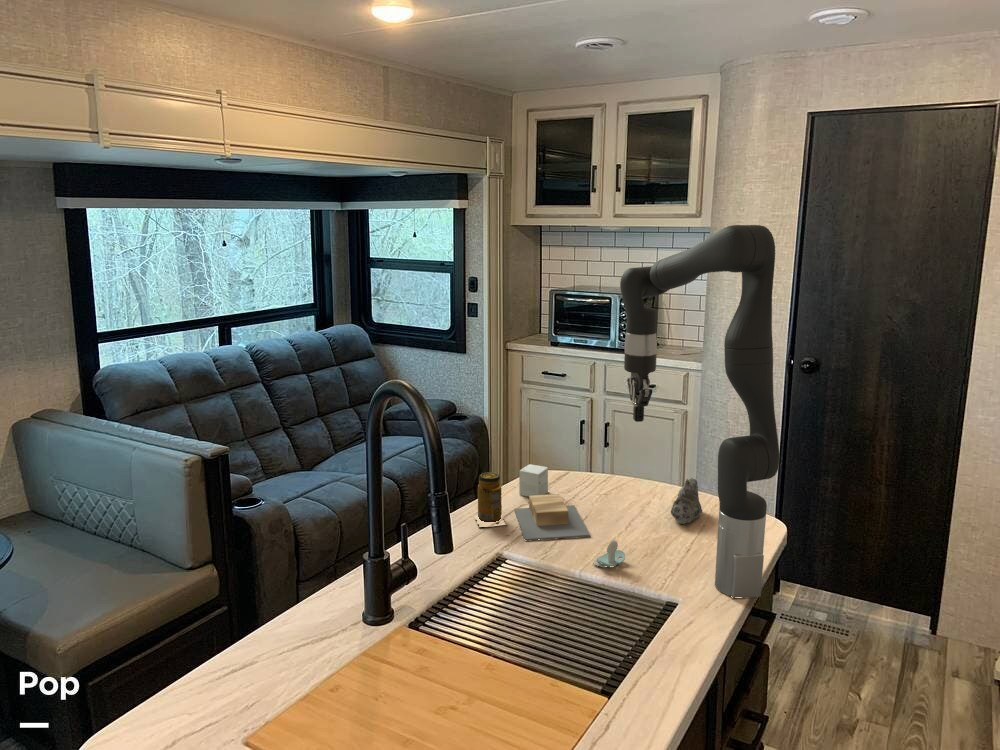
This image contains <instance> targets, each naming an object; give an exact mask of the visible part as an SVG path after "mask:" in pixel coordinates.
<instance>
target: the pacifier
mask: <svg viewBox="0 0 1000 750" xmlns="http://www.w3.org/2000/svg"><path fill="white" fill-rule="evenodd" d="M618 546H619V544H618V541H616V540H615V539H613V540H611V541H610V542H609V544H608V545H607V547H606V553H604V554H602V555H600V556H597V557H596V558H595V559H593V563H594V564H595V565H597V566H596V567H598V566H603V567H602V568H605V567H604V566H607V567H610V566H615V567H616V566H617V565H620V564H622V563H623V562H624V561H625V560H626V554H625V552H624V551H623V550H619V549H618V548H619V547H618ZM597 561H598V562H597ZM594 564H593V565H594ZM595 565H594V566H595Z"/></svg>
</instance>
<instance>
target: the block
mask: <svg viewBox="0 0 1000 750" xmlns="http://www.w3.org/2000/svg"><path fill="white" fill-rule="evenodd" d="M528 500H529V504H528V506H529V507H528V508H529V509H530V511H531V513H532V516H533V518H534V521H535V523H536V525H537V526H544V525H559V524H568V509H567V507H566V506H567V505H566V503H565V502H564V500H563V498H562V496H561V495H560V493H552V494H547V493H546V494H544V495H531V496H529V497H528Z"/></svg>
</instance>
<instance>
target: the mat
mask: <svg viewBox="0 0 1000 750" xmlns="http://www.w3.org/2000/svg"><path fill="white" fill-rule="evenodd" d="M565 506H566V507H567V509H568V524H559V525H544V526H537V525H536V523H535V521H534V518H533V516H532V513H531V511H530V509H529V507H523V508H522V507H521V508H514V509H513V511H514V514H515V517H516V519H517V522H519V523H518V526H519V525H520V526H519V528H521V529H520V531H522V532H521V535H522V536H524V537H523V539H525V540H536V541H542V540H541V539H551V540H556V539H555V538H558V539H557V540H560V539H559V538H566V539H577V538H576V537H582V538H591V534H590V532H589V530H588V528H587V527H586V525H585V523H584V521H583V519H582V517H581V515H580V514H579V512H578V510H577V508H576V506H575V505H573V504H571V505H565ZM538 539H540V540H538ZM525 540H524V541H525Z"/></svg>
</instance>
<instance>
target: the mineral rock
mask: <svg viewBox="0 0 1000 750" xmlns="http://www.w3.org/2000/svg"><path fill="white" fill-rule="evenodd" d="M702 513H703V508H702V505H701V503H700V497H699V486H698V480H697V479H696V478H693V477H690V478H686V479H685V481H684V484H683V486H681V488H680V489H679V491H678V493H677V497H676V499H675V500H674V501H673V504H672V506H671V510H670V515H671V516H672V517H673V518H674V519H675V520H676V522H677V523H679V524H682V525H683V524H689V523H691V522H693V521H694V520H696V519H697V518H698V517H700V516H701V514H702Z"/></svg>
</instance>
